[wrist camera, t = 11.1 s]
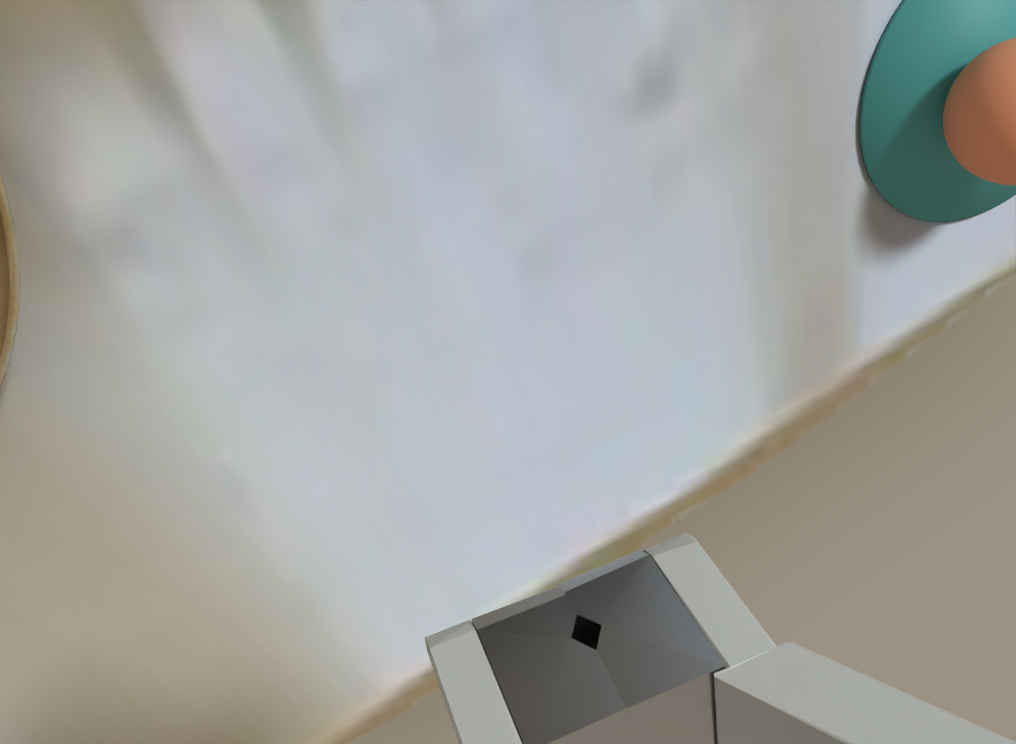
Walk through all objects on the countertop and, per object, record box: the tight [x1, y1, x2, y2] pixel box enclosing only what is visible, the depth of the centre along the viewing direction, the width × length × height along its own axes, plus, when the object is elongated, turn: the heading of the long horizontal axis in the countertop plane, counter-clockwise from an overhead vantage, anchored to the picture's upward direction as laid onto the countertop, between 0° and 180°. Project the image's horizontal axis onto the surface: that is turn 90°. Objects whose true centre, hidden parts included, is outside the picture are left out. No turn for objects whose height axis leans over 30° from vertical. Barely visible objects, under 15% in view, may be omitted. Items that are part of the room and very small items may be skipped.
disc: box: [860, 0, 1016, 222], centre depth 36 cm, size 12×12×1 cm
